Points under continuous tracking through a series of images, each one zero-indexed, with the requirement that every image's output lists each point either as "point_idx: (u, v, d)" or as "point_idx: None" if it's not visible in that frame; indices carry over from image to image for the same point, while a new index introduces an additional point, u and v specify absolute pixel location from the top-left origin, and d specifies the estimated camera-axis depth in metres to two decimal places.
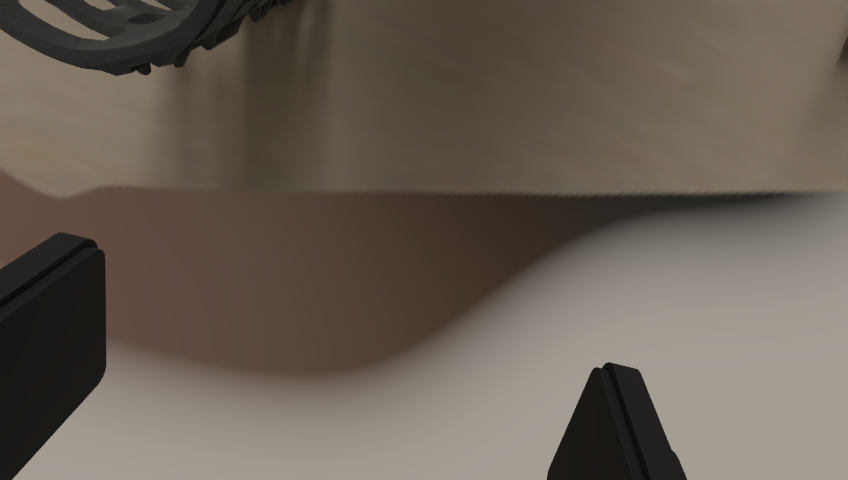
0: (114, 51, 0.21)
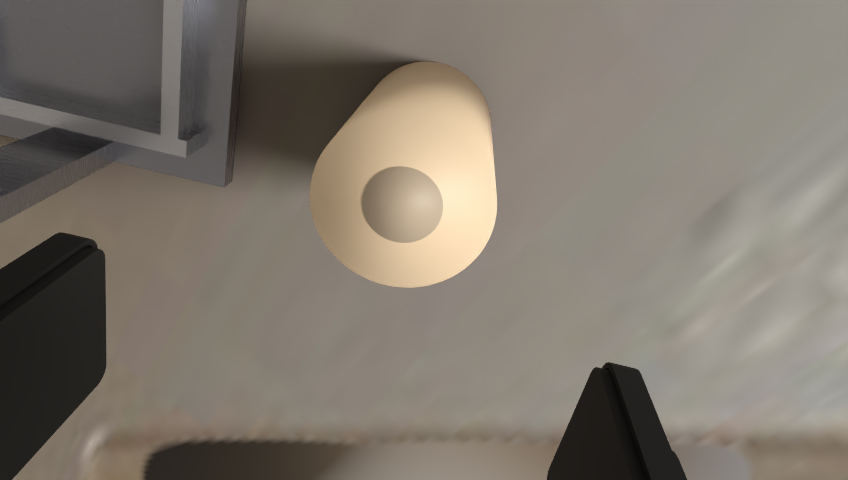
0: None
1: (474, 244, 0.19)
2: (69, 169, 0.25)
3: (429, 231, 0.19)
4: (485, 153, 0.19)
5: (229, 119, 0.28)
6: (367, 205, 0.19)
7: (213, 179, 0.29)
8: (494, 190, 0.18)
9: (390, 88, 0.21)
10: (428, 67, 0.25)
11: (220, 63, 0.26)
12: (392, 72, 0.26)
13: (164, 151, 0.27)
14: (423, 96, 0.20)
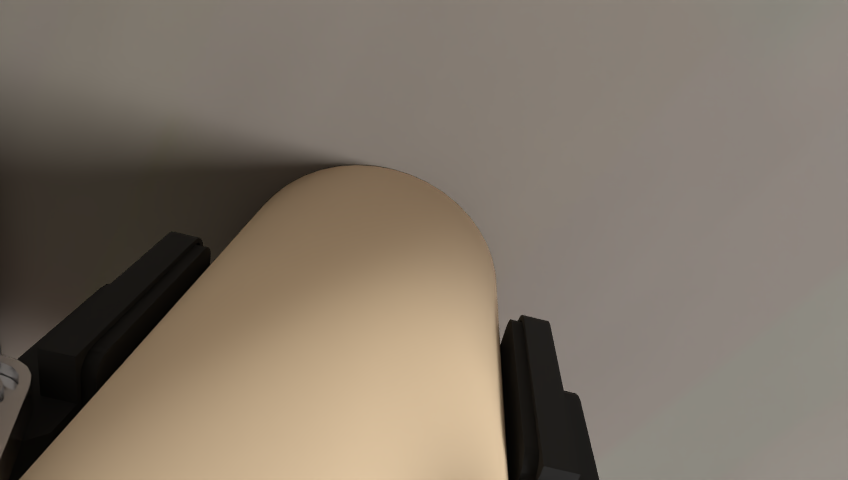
0: None
1: None
2: None
3: None
4: None
5: None
6: None
7: None
8: None
9: (211, 313, 0.07)
10: (356, 192, 0.11)
11: None
12: (285, 191, 0.12)
13: None
14: (273, 409, 0.06)
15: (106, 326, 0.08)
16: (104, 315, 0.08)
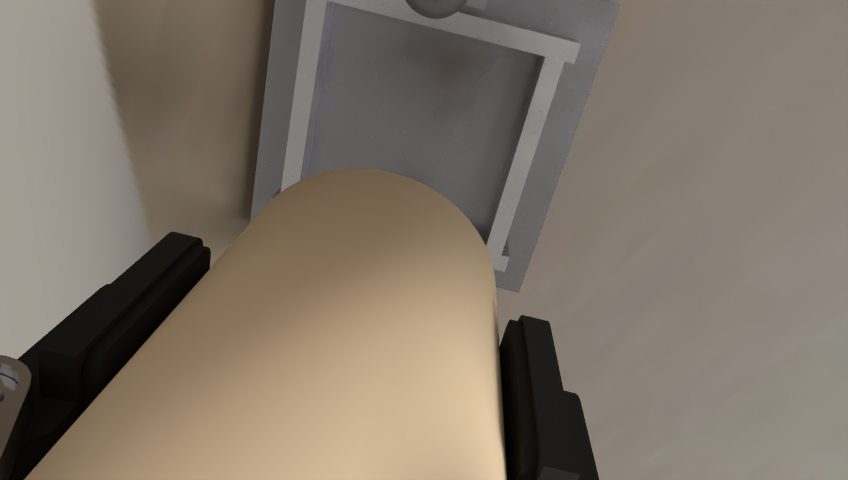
0: None
1: None
2: None
3: None
4: None
5: (539, 232, 0.29)
6: None
7: (509, 285, 0.30)
8: None
9: (211, 318, 0.07)
10: (356, 196, 0.11)
11: (543, 183, 0.27)
12: (285, 193, 0.12)
13: None
14: (273, 415, 0.06)
15: (107, 327, 0.08)
16: (104, 315, 0.08)
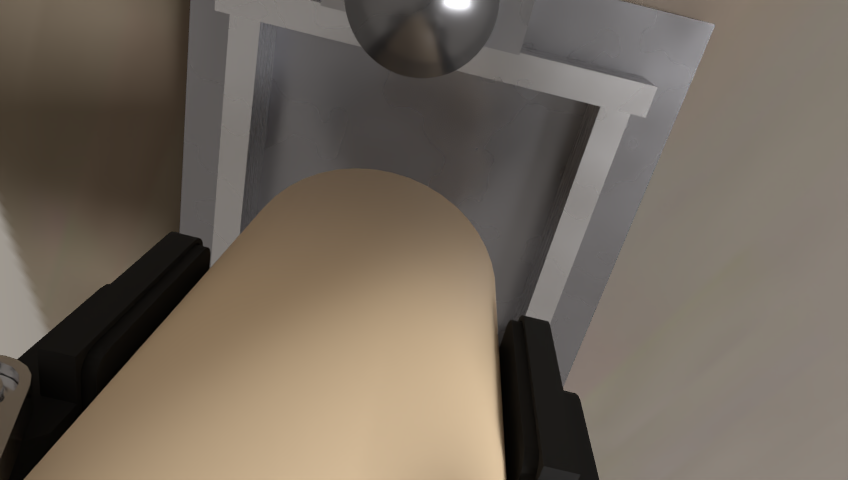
0: None
1: None
2: None
3: None
4: None
5: (580, 343, 0.20)
6: None
7: None
8: None
9: (210, 318, 0.07)
10: (355, 196, 0.11)
11: (588, 279, 0.19)
12: (284, 194, 0.12)
13: None
14: (272, 415, 0.06)
15: (106, 327, 0.08)
16: (104, 315, 0.08)
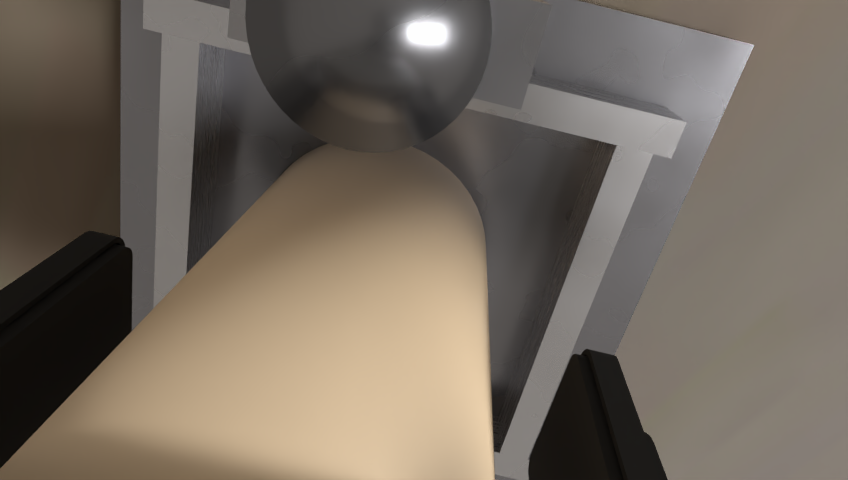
0: None
1: None
2: None
3: None
4: None
5: None
6: None
7: None
8: None
9: (252, 237, 0.09)
10: (364, 157, 0.13)
11: (598, 338, 0.16)
12: (302, 159, 0.14)
13: (499, 473, 0.17)
14: (307, 290, 0.08)
15: None
16: None
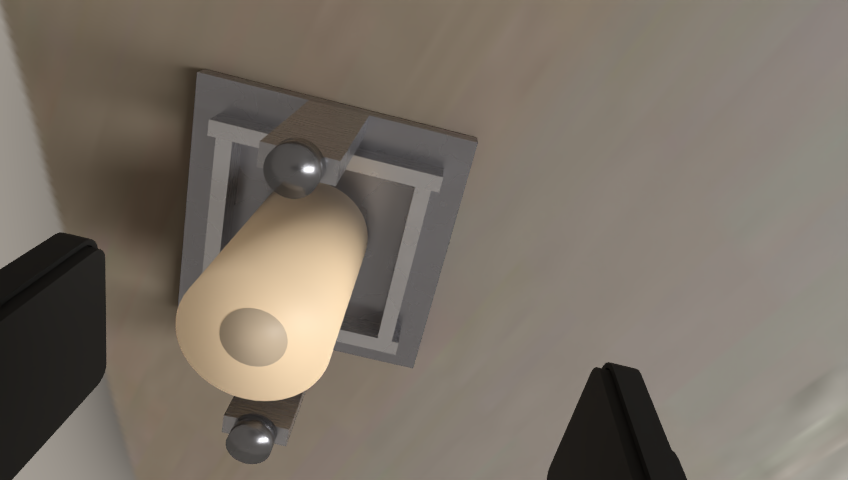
0: None
1: (316, 368, 0.23)
2: None
3: (278, 358, 0.23)
4: (323, 294, 0.23)
5: (426, 319, 0.34)
6: (224, 337, 0.23)
7: (404, 362, 0.35)
8: (328, 327, 0.22)
9: (257, 225, 0.25)
10: None
11: (427, 280, 0.32)
12: None
13: (378, 349, 0.33)
14: (277, 240, 0.24)
15: None
16: None
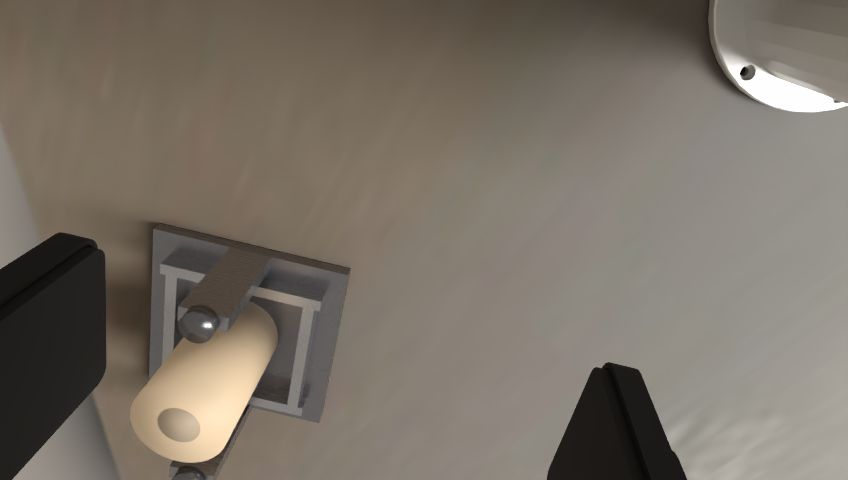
0: None
1: (220, 443, 0.36)
2: (237, 430, 0.44)
3: (195, 437, 0.36)
4: (223, 397, 0.35)
5: (325, 389, 0.46)
6: (160, 424, 0.36)
7: (312, 418, 0.48)
8: (224, 419, 0.35)
9: (187, 344, 0.38)
10: None
11: (322, 363, 0.45)
12: None
13: (288, 412, 0.46)
14: (196, 360, 0.36)
15: None
16: None
